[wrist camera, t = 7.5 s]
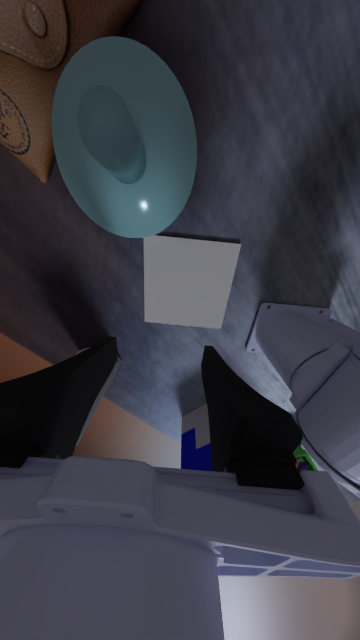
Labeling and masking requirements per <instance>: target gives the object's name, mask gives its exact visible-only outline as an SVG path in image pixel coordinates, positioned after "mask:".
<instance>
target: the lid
mask: <svg viewBox="0 0 360 640" xmlns="http://www.w3.org/2000/svg"><path fill="white" fill-rule="evenodd" d="M52 138H53V146H54V151H55V155H56V160H57V163H58V166H59V169H60V172H61V175H62V177H63V179H64V182H65V184H66V186H67V188H68V190H69V192H70V193H71V195H72V197H73V198H74V200H75V201H76V203H77V204H78V205H79V207H80V208H81V209H82V210H83V211H84V212H85V214H86V215H87V216H88V217H89V218H90V219H92V220H93V221H94V222H95V223H96V224H98V225H99V226H101V227H102V228H103V229H105V230H107V231H109V232H111V233H113V234H116V235H119V236H123V237H128V238H145V237H150V236H153V235H156V234H158V233H160V232H162V231H163V230H165V229H166V228H168V227H169V226H170V225H171V224H172V223H173V222H174V221H175V220H176V219H177V218H178V216H179V215H180V214H181V212H182V211H183V209H184V207H185V205H186V204H187V201H188V199H189V196H190V194H191V191H192V187H193V183H194V178H195V173H196V164H197V140H196V130H195V125H194V120H193V116H192V113H191V109H190V106H189V103H188V100H187V98H186V96H185V93H184V91H183V89H182V87H181V85H180V83H179V82H178V80H177V78H176V76H175V75H174V74H173V72H172V71H171V70H170V68H169V67H168V65H167V64H166V63H165V62H164V61H163V60H162V59H161V58H160V57H159V56H158V55H157V54H156V53H154V52H153V51H152V50H151V49H149V48H148V47H146V46H145V45H143V44H141V43H139V42H137V41H135V40H132V39H128V38H125V37H116V36H110V37H103V38H99V39H97V40H94V41H91V42H90V43H88V44H87V45H85V46H83V47H82V48H81V49H80V50H79V51H78V52H77V53H76V54H75V55H74V56H73V57H72V58H71V59H70V61H69V62H68V64H67V65H66V67H65V68H64V70H63V72H62V74H61V77H60V79H59V82H58V85H57V88H56V91H55V95H54V101H53V107H52Z"/></svg>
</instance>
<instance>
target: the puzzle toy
mask: <svg viewBox="0 0 360 640" xmlns="http://www.w3.org/2000/svg"><path fill="white" fill-rule="evenodd" d="M181 469H188V470H201V471H212V465H211V446H210V431H209V418H208V408H207V404H205V405H203V406H201V407H199V408H197V409H196V410H194V411H192V412H190V413H188V414H186V415H185V416H183V417H182V441H181Z"/></svg>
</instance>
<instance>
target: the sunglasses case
mask: <svg viewBox="0 0 360 640" xmlns="http://www.w3.org/2000/svg"><path fill="white" fill-rule="evenodd" d="M142 1H143V0H0V145H1V146H3V147H4V148H5V149H6V150H8V151H9V152H10V153H11V154H12V155H13V156H15V157H16V158H17V159H18V160H19V161H20V162H21V163H22V164H23V165H25V166H26V167H27V168H28V169H29V170H30V171H31V172H33V173H34V174H35V175H37V176H38V177H39V178H40V180H41V181H42V182H43V183H46V182H47V180H48V179H49V176H50V174H51V171H52V168H53V165H54V162H55V159H56V155H55V151H54V146H53V138H52V107H53V101H54V95H55V91H56V88H57V85H58V82H59V79H60V77H61V74H62V72H63V70H64V68H65V67H66V65H67V64H68V62H69V61H70V59H71V58H72V57H73V56H74V55H75V54H76V53H77V52H78V51H79V50H80V49H81V48H82V47H83V46H85V45H87V44H88V43H90V42H91V41H94V40H97V39H99V38H103V37H110V36H116V37H119V36H120V34H121V32H122V31H123V29H124V28H125V26H126V25H127V24H128V22H129V21H130V19H131V18H132V16H133V14H134V13H135V11H136V10H137V8H138V6H139V5H140V4H141V2H142Z"/></svg>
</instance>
